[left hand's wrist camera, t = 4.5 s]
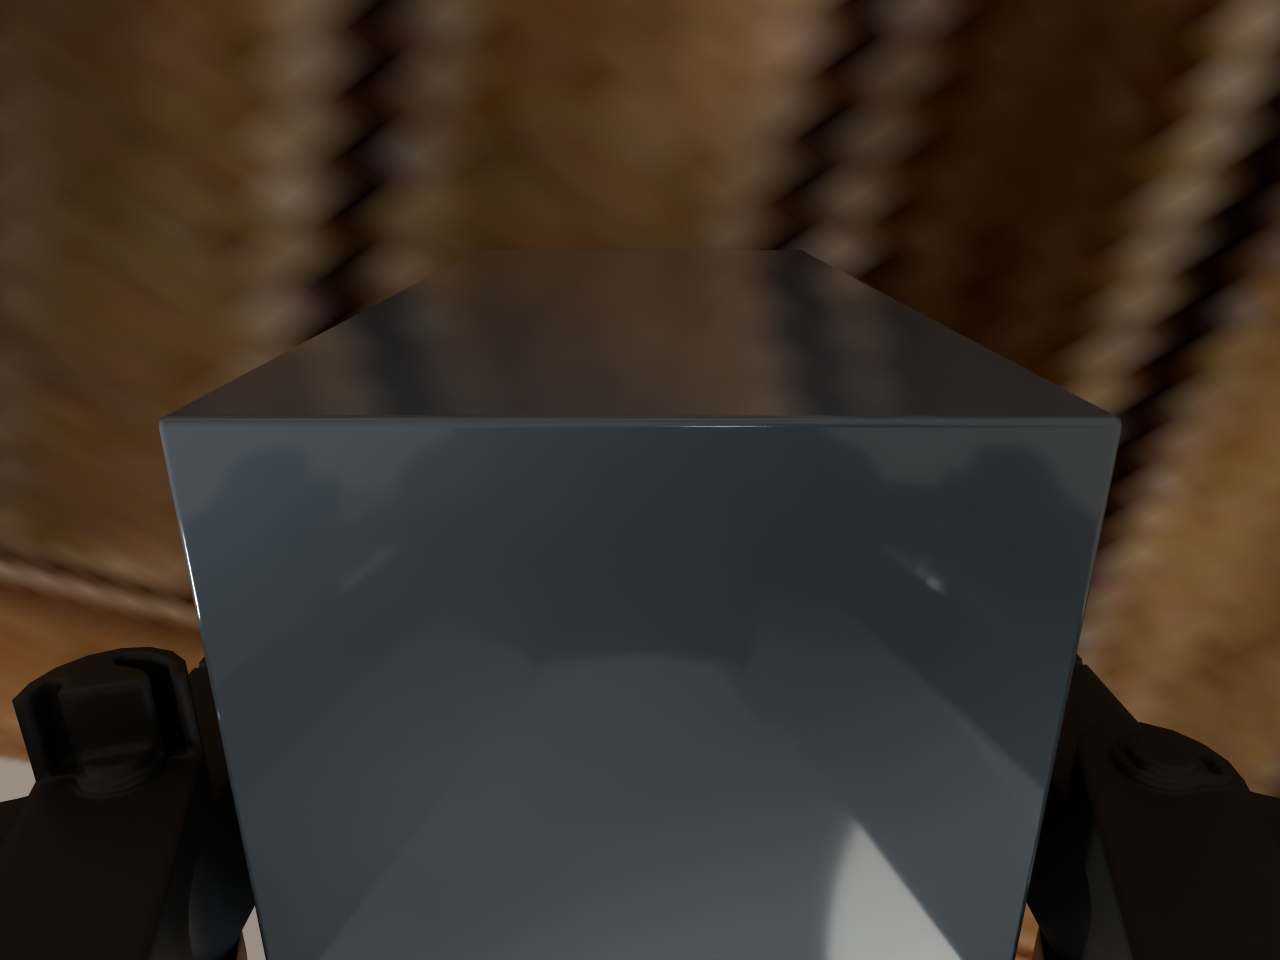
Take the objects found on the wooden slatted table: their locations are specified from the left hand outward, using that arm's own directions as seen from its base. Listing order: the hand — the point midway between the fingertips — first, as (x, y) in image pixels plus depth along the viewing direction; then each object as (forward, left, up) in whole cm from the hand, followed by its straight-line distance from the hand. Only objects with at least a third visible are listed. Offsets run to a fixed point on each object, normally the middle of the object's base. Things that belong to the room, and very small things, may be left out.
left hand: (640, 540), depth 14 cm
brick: (0, 0, -3) cm, 3 cm away
